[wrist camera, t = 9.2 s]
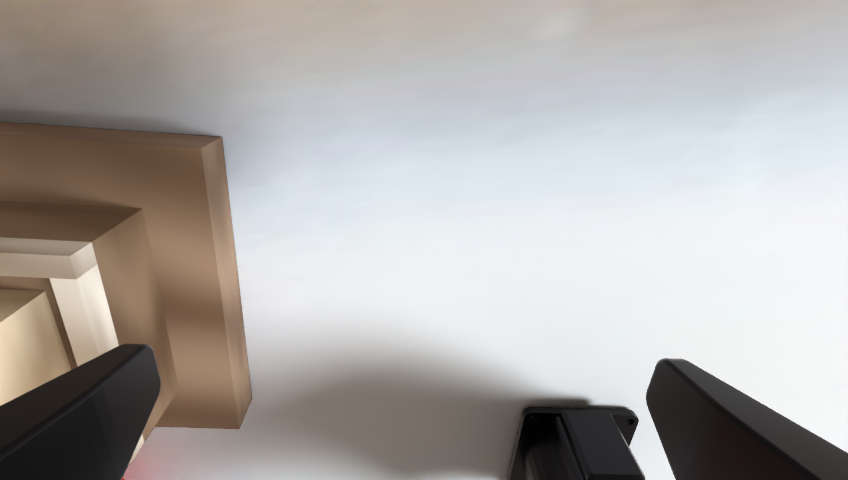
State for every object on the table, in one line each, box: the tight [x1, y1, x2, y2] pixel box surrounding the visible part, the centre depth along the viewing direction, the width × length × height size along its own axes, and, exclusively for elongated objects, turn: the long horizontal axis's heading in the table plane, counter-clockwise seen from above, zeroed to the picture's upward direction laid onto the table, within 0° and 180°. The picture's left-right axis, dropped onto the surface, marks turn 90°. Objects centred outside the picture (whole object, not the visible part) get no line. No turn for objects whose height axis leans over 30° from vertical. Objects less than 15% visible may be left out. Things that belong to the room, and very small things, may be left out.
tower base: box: [0, 122, 252, 464], centre depth 17 cm, size 14×14×6 cm
